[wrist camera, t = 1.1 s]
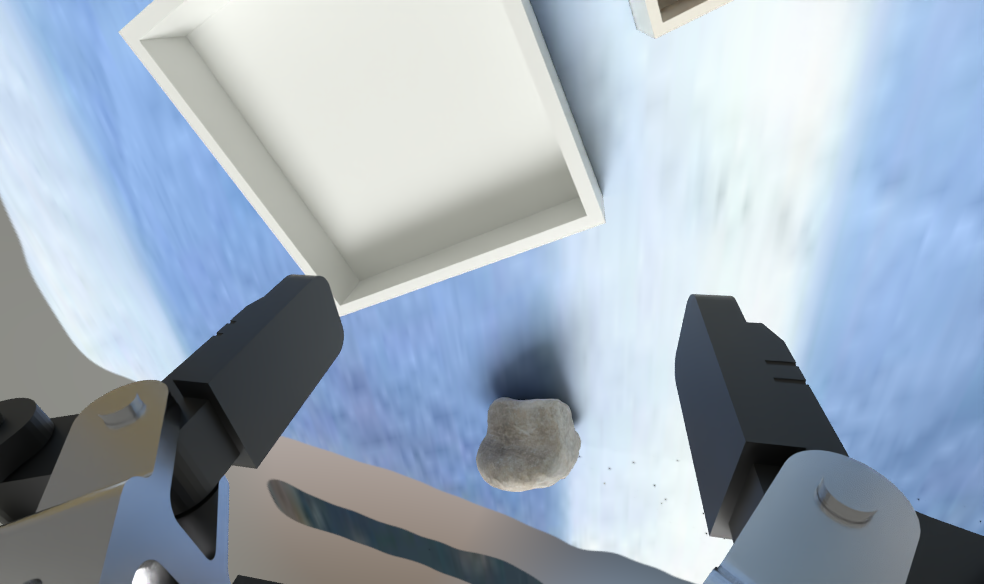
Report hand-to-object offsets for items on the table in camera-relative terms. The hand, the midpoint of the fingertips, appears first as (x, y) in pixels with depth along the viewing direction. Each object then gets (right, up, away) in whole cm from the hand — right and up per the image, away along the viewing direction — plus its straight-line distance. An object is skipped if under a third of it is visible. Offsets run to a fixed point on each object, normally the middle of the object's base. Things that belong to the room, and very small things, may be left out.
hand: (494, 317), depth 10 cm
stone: (+9, -11, +28) cm, 31 cm away
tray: (-6, +12, +18) cm, 22 cm away
